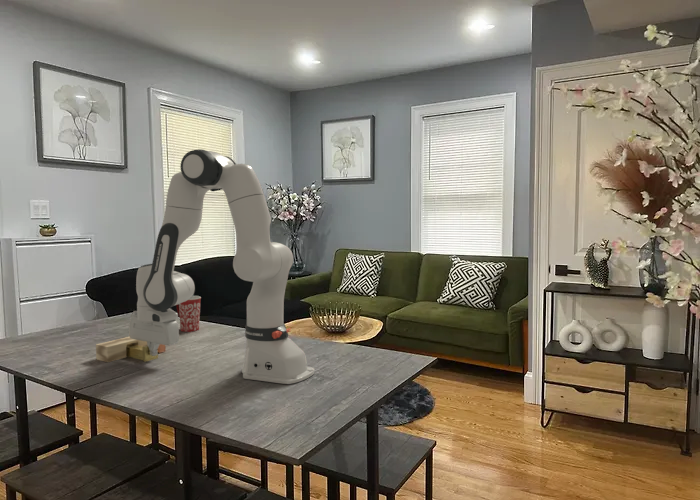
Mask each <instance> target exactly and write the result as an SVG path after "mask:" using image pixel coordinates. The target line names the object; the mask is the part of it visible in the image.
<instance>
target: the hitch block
mask: <svg viewBox="0 0 700 500" xmlns="http://www.w3.org/2000/svg"><path fill="white" fill-rule="evenodd" d="M127 344H133V345H138V346H142V347H144V346H147V342H146V341H141V340H135V339H131V338H130V337H129V336H125V337H121V338H117V339H113V340H110V341H109V340H108V341H104V342H100V343H96V344H95V355H96V356H95V357H96V358H95V360H96V361H100V362H101V361H102V362H105V363H111V362H113V361H114V362H115V361H117V360H118V361H119V360H122V359H125V358H127V356H126V345H127Z"/></svg>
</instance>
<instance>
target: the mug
mask: <svg viewBox="0 0 700 500" xmlns="http://www.w3.org/2000/svg"><path fill="white" fill-rule="evenodd" d="M201 299H202V297H201V296H199V295H193V296H192V297H191V298H190V299H189V300H187V301H185V302H183V303H180V304H178V305H176V310H177V311H176V313H177V314H178V318H179V324H180V325H179V327H180V331H181V332H186V333H187V332H188V333H191V332H196V331H199V330H200V317H201V316H200V315H201Z"/></svg>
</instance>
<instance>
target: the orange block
mask: <svg viewBox="0 0 700 500" xmlns="http://www.w3.org/2000/svg"><path fill="white" fill-rule="evenodd" d="M166 346H167V345H162V344H160V345H159V347H158V354H160V353H164V352H167V351H166Z"/></svg>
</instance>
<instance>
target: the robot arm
mask: <svg viewBox="0 0 700 500" xmlns="http://www.w3.org/2000/svg"><path fill="white" fill-rule="evenodd" d="M179 169H180V171H179V172H176V173H174V174H173V175H172V177H171V179H170V182H169V186H168V189H167V194H166V198H165V199H166V200H165V209H164V216H163V220H162V224H161V227H160V229H159V232H158V235H157V238H156V243H155V247H154V253H153V259H152V262H151V263H148V264H143V265H141V266H140V267H138V270H137V272H136V278H135V279H136V280H135V281H136V282H135V283H136V284H135V286H136V287H135V290H136V294H137V302H136V310H133V312H131V313H130V318H129V321H128V337H130V338H131V339H135V340H141V341H146V342H147V346H148V348H149V350H150V355H151V356H155V355H157V354H158V355H159V352H158V350H157V349H158V347H159V345H160V344H162V345H165V346H173V345H176V344H178V342H179V339H180V336H179V334H180V331H179V323H178V322H177V320H178V319H179V315H178V312H177V311H174V310H173V309H172V308H173V307H174V306H177V305H178V304H180V303H183V302H185V301H187V300H189V299H190V298H191V297H192V296H195V292H196V284H195V281H194V280H193V278H192V277H191V276H190V275H189V274H186V273H183V272H182V273H181V272H179V271H176V270H175V264H176V260H177V254H178V251H179V249H180V248H181V246H182V244H183V243H184V242H185V241H186V240H188V239H189V238H191V236H193V235H194V234H195V233H197V231H198V230H199V228H200V225H201V222H202V220H203V219H202V217H203V211H204V210H203V209H204V207H203V206H204V198H205V196H206V194H207V193H208V191H211V192H217V191H222V190H223V192H224V195H225V197H226V200H227V203H228V208H229V211H230V214H231V217H232V222H233V225H234V229H235V237H236V238H235V239H236V252H235V255H234V257H233V261H232V268H233V270H234V274H236V276H237V277H238V278H239V279H241V280H243V281H245V282H251V283H252V285H251V290H250V293H249V294H248V296H247V299H246V324H245V326H244V327H245V329H244V333H245V338H246V339H245V340H246V343H245V350H244V351H245V353H244V359H243V364H242V368H241V373H242V379H243V380H244V379H245V380H254V381H260V382H261V381H262V382H266V383H267V382H269V383H276V384H283V385H291V384H296V383H299V382H302V381H304V380H306V379H308V378H310V377H311V376H313V375H314V374H315V368H314V367H311V366H308V363H307V356H306V353H305V351H304V350H303V349H302V348H301V347H300V346H298V344H296V342H294V341H293V340H292V339H291V338H290V336H289V333H290V332H292V330H291V329H292V328H291V327H289V328H287V327H286V325H285V323H284V314H285V313H284V309H285V307H284V306H285V305H284V302H285V293H286V288H287V283H288V278H289V274H290V269H291V268H292V266H293V263H294V254H293V252H292V250H291V248H290V247H288V246H287V245H285V244H283V243H280V242H276V241H271V236H270V235H271V233H270V229H271V228H270V227H271V223H272V217H271V213H270V210H269V206H268V203H267V199H266V197H265V194H264V189H263V188H262V185H261V182H260V180H259V178H258V175H257V173H256V171H255V170H254V168H253V167H252V166H250V165H249V164H246V163H237V162H236V161H235V160H233V159H232V158H231V157H229V156H227V155H223V154H220V153H218V152H216V151H213V150H205V149H192V150H190V151H187V153H185V154H184V155H183V157H182V159H181V161H180V168H179ZM157 352H158V353H157Z"/></svg>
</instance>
